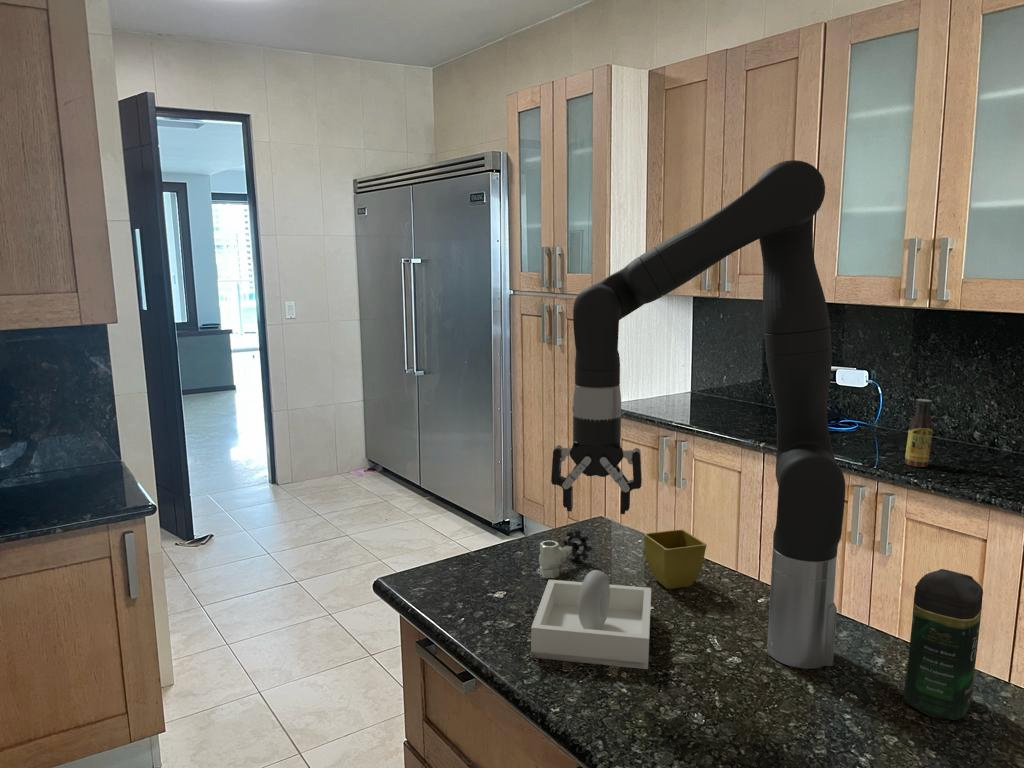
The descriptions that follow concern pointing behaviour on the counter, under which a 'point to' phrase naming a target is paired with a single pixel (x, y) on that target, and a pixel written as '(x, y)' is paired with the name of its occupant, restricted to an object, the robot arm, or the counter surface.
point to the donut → (594, 600)
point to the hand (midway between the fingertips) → (596, 511)
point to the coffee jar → (943, 644)
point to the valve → (561, 553)
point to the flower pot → (674, 557)
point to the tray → (569, 641)
